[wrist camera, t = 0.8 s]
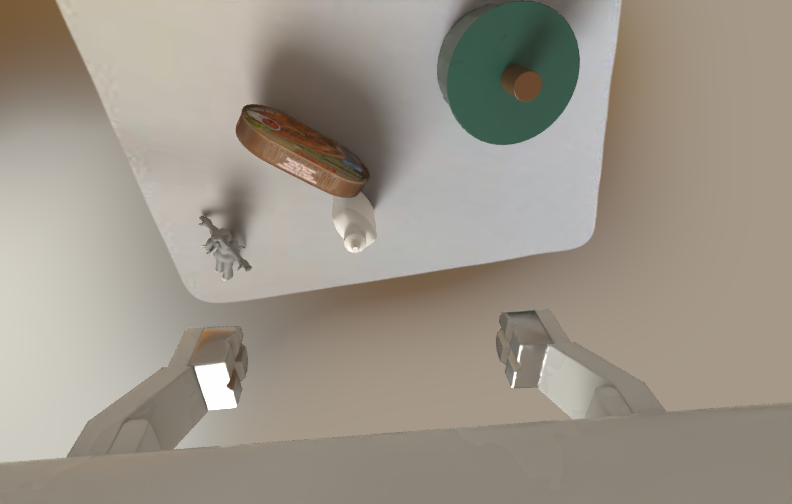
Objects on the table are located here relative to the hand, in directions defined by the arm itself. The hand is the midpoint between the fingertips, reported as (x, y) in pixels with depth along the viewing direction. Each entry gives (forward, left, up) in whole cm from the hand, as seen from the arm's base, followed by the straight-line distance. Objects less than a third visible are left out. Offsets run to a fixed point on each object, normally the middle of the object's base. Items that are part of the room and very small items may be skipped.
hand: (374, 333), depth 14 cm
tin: (+6, -6, -41) cm, 42 cm away
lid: (-2, +15, -33) cm, 37 cm away
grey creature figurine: (+19, -17, -41) cm, 48 cm away
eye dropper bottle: (+14, -1, -41) cm, 43 cm away
